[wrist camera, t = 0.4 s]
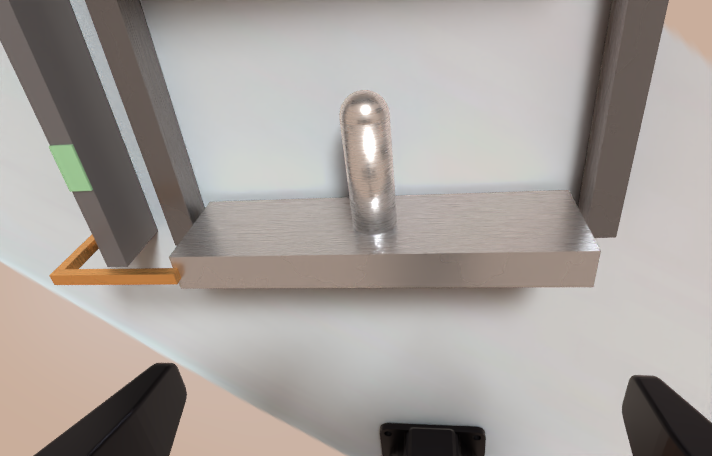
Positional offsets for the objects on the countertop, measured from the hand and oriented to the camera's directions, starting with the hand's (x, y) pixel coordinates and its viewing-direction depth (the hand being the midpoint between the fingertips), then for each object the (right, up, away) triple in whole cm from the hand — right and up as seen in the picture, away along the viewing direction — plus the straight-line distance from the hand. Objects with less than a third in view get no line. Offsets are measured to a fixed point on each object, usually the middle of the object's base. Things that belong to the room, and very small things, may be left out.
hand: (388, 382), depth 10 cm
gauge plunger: (-2, +6, +11) cm, 13 cm away
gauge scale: (-12, +9, +11) cm, 19 cm away
